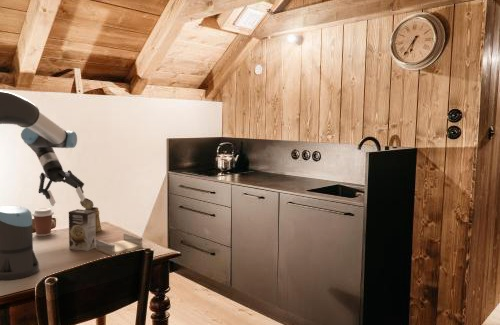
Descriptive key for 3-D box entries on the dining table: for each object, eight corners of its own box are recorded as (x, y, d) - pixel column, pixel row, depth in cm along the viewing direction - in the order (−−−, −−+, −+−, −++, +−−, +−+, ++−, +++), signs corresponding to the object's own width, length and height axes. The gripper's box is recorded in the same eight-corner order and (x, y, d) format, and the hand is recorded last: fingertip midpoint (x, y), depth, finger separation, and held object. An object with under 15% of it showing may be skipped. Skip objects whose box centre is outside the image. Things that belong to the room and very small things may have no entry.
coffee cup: (31, 233, 203) (31, 208, 202) (52, 230, 208) (51, 206, 207) (34, 237, 196) (33, 212, 194) (55, 235, 201) (54, 210, 199)
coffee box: (68, 249, 180) (67, 211, 178) (77, 244, 186) (77, 208, 185) (87, 251, 178) (87, 213, 176) (96, 246, 184) (95, 210, 183)
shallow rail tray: (112, 255, 173) (112, 245, 173) (95, 249, 180) (95, 239, 180) (142, 247, 185) (142, 238, 184) (125, 242, 192) (125, 233, 192)
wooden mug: (75, 235, 201) (74, 197, 199) (86, 228, 214) (85, 192, 213) (94, 235, 201) (94, 198, 199) (104, 228, 215) (103, 193, 213)
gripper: (74, 167, 207) (91, 202, 199) (20, 172, 187) (37, 211, 180) (79, 157, 203) (97, 193, 195) (25, 161, 184) (43, 200, 176)
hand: (68, 201), depth 187 cm, fingers open, 13 cm apart
